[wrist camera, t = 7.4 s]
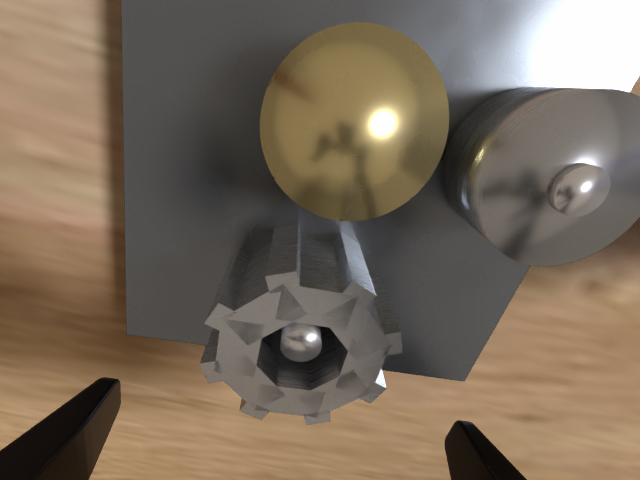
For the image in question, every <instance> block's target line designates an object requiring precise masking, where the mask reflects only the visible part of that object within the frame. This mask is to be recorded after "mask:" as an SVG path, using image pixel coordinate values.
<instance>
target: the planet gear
mask: <svg viewBox="0 0 640 480" xmlns="http://www.w3.org/2000/svg"><path fill="white" fill-rule="evenodd" d="M291 322H297V323H304V324H310V325H316V326H321V340H322V349H321V351H320V353H319V354H318V355H317V356H316V357H315V358H313V359H311V360H309V361H304V362H297V361H293V360H290V359H288V358H287V357H285V356H284V354H283V353H282V351H281V348H280V344H281V332H282V327H284V326H286V325H288V324H290V323H291ZM204 324H206V325H208V326H211V327H213V329H212V332H211V334H210V337H209V340H208V343H207V345H206V348H205V351H204V354H203V356H202V359H201V362H200V365H201V367H202V370H203V372H204V374H205V377H206V379H207V381H208V383H213V382H220V381H224V382H225V383H226V384H228V385H229V386H230V387H231V388H232V389H233V390H234V391H235V392H236V393H237V394H238V395H239V396H240V397H242V400H241V405H240V410H239V411H241V412H243V413H245V414H248V415H250V416H253V417H255V418H258V419H260V420H262V419H263V418H264V417H265V416H266V415H267V413H268V412H275V413H284V414H292V415H301V416H304V418H305V422H306V425H311V424H317V423H324V422H331V421H330V411H332V410H334V409H336V408H339V407H341V406H343V405H345V404H347V403H349V402H352V401H354V400H356V399H358V398H360V399H362V400H364V401H366V402H368V403H371V402H373V401H374V400H375V399H376V398H377V397H378V396H379V395H380V394H381V393H382V392H383V391H384V390H386V389H387V388H386V384H385V380H384V376H383V373H382V369H381V368H382V365H383V363H384V361H385V358H386V356H387V355H393V354H399V353H402V341H401V331H400V329H399V326H398V323H397V321H396V318H395V316H394V313H393V310H392V308H391V305H390V303H389V300H388V297H387V295H386V292H385V290H384V287H383V284H382V282H381V279H380V277H379V274H375V275H369V272H368V269H367V266H366V263H365V260H364V257H363V254H362V251H361V248H360V245H359V243H357V242H356V241H354V240H353V239H351V238H350V237H348V236H347V235H345V234H344V233H342V232H340V233H339V234H338V235H337V237H336V238H335V239H334V240H333V242H332V241H327V240H322V239H317V238H311V237H306V236H301V235H300V230H299V225H298V223H296V224H290V225H284V226H278V227H275V228H274V233H273V238H272V243H271V244H269V245H267V246H266V247H264V248H262V249H261V250H259V251H257V252H256V253H254V254H252V255H250V254H248V253H246V252H244V251H243V250H241V249H239V250H238V251H237V253H236V254H235V256H234V257H233V259H232V260H231V262H230V263H229V264H228V266H227V269H226V271H225V274H224V276H223V279H222V281H221V283H220V286H219V288H218V291H217V293H216V296H215V298H214V301H213V303H212V306H211V308H210V310H209V313H208V315H207V318H206V320H205V323H204Z"/></svg>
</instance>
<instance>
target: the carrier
mask: <svg viewBox="0 0 640 480" xmlns="http://www.w3.org/2000/svg"><path fill="white" fill-rule="evenodd" d="M121 15H122V78H123V141H124V204H125V267H126V329H127V334H128V335H135V336H142V337H150V338H157V339H164V340H171V341H178V342H185V343H193V344H200V345H207V343H208V340H209V337H210V334H211V332H212V329H213V327H211V326H208V325H206V324H204V323H205V320H206V318H207V315H208V313H209V310H210V308H211V306H212V303H213V301H214V298H215V296H216V293H217V291H218V288H219V286H220V283H221V281H222V279H223V276H224V274H225V271H226V269H227V266H228V264H229V263H230V262H231V260H232V259H233V257H234V256H235V254H236V253H237V251H238V250H239V249H241V250H243V251H244V252H246V253H248V254H250V255H252V254H254V253H256V252H257V251H259V250H261V249H262V248H264V247H266V246H267V245H269V244H271V243H272V238H273V233H274V228H275V227H278V226H284V225H290V224H296V223H298V225H299V230H300V235H301V236H306V237H311V238H317V239H322V240H327V241H332V242H333V240H334V239H335V238H336V237H337V235H338V234H339V233H340V232H342V233H344V234H345V235H347V236H348V237H350V238H351V239H353V240H354V241H356V242H357V243H359V245H360V248H361V251H362V254H363V257H364V260H365V263H366V266H367V269H368V272H369V275H375V274H379V277H380V279H381V282H382V284H383V287H384V290H385V292H386V295H387V297H388V300H389V303H390V305H391V308H392V310H393V313H394V316H395V318H396V321H397V323H398V326H399V329H400V331H401V341H402V353H399V354H393V355H387V356H386V358H385V361H384V363H383V365H382V368H381V369H382V370H386V371H393V372H400V373H407V374H415V375H422V376H429V377H436V378H443V379H450V380H457V381H465V379H466V378H467V376H468V374H469V372H470V371H471V369H472V367H473V365H474V364H475V362H476V360H477V358H478V357H479V355H480V353H481V351H482V350H483V348H484V346H485V344H486V343H487V341H488V339H489V337H490V336H491V334H492V332H493V330H494V329H495V327H496V325H497V323H498V322H499V320H500V318H501V316H502V315H503V313H504V311H505V309H506V308H507V306H508V304H509V302H510V301H511V299H512V297H513V295H514V294H515V292H516V290H517V288H518V287H519V285H520V283H521V281H522V280H523V278H524V276H525V274H526V273H527V271H528V269H529V267H530V266H531V265H533V266H556V265H562V264H567V263H571V262H574V261H577V260H580V259H583V258H585V257H587V256H590V255H592V254H594V253H596V252H598V251H599V250H601V249H603V248H605V247H606V246H608V245H609V244H611V243H612V242H614V241H615V240H616V239H617V238H619V237H620V236H621V235H623V234H624V233H625V232H626V231H627V230H628V229H629V228H630V227H631V226H632V225H633V224H634V223H635V222H636V221H637V220H638V218H639V217H640V97H639V96H637V95H634V94H632V93H629V92H630V91H631V89H632V87H633V85H634V84H635V82H636V80H637V78H638V77H639V75H640V0H121ZM280 348H281V351H282V353H283V354H284V356H285V357H287V358H288V359H290V360H293V361H297V362H304V361H309V360H311V359H313V358H315V357H316V356H317V355H318V354H319V353H320V351H321V349H322V340H321V326H316V325H310V324H304V323H297V322H291V323H290V324H288V325H286V326H284V327H282V332H281V344H280Z"/></svg>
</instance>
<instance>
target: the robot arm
mask: <svg viewBox="0 0 640 480" xmlns="http://www.w3.org/2000/svg"><path fill="white" fill-rule="evenodd" d="M120 404H121V391H120V381H119V380H118V379H114V378H106V377H104V378H100V379H98V380H97V381H95V382H94V383H93V384H91V385H90V386H88V387H87V388H86V389H84V390H83V391H82V392H80V393H79V394H78V395H76V396H75V397H73V398H72V399H71V400H69V401H68V402H67V403H65V404H64V405H62V406H61V407H60V408H58V409H57V410H56V411H54V412H53V413H51V414H50V415H49V416H47V417H46V418H45V419H43V420H42V421H41V422H39V423H38V424H36V425H35V426H34V427H32V428H31V429H30V430H28V431H27V432H25V433H24V434H23V435H21V436H20V437H19V438H17V439H16V440H14V441H13V442H12V443H10V444H9V445H8V446H6V447H5V448H4V449H2V450H1V451H0V480H89V478H90V476H91V473H92V471H93V469H94V467H95V464H96V462H97V460H98V457H99V455H100V453H101V451H102V448H103V446H104V444H105V441H106V439H107V437H108V434H109V432H110V430H111V427H112V425H113V423H114V420H115V418H116V416H117V413H118V411H119V408H120ZM445 451H446V456H447V461H448V466H449V471H450V476H451V480H527V479H526V478H525V477H524V476H523V475H522V474H521V473H520V472H519V471H518V470H517V469H516V468H515V467H514V466H513V465H512V464H511V463H510V462H509V461H508V460H507V458H506V457H505V456H504V455H503V454H502V453H501V452H500V451H499V450H498V449H497V448H496V447H495V446H494V445H493V444H492V443H491V442H490V441H489V440H488V439H487V438H486V437H485V436H484V434H483V433H482V432H481V431H480V430H479V429H478V428H477V427H476V426H475V425H474V424H473V423H471V422H468V421H460V420H459V421H456V422H455V423H454V425H453V426H452V428H451V430H450V431H449V433H448V435H447V436H446V438H445Z"/></svg>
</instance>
